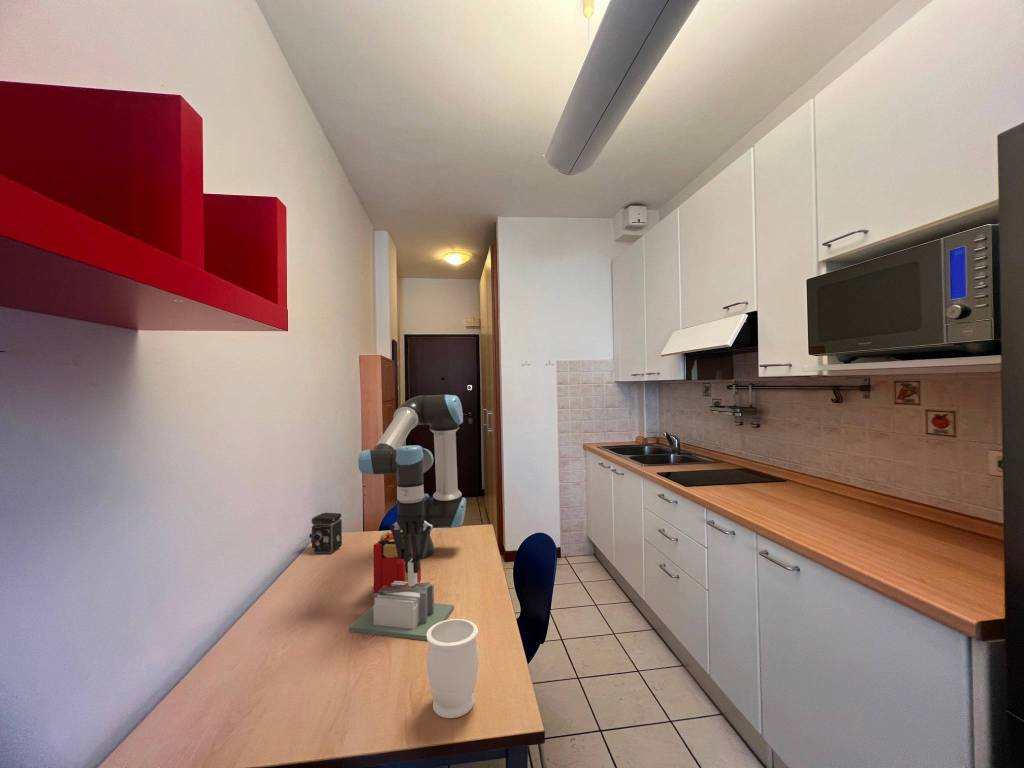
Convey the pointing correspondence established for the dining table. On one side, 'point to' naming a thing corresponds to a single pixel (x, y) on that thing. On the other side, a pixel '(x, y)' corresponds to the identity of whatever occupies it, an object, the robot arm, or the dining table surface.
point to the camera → (326, 532)
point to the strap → (404, 588)
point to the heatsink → (402, 614)
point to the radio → (389, 563)
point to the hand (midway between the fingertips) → (412, 583)
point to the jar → (452, 666)
